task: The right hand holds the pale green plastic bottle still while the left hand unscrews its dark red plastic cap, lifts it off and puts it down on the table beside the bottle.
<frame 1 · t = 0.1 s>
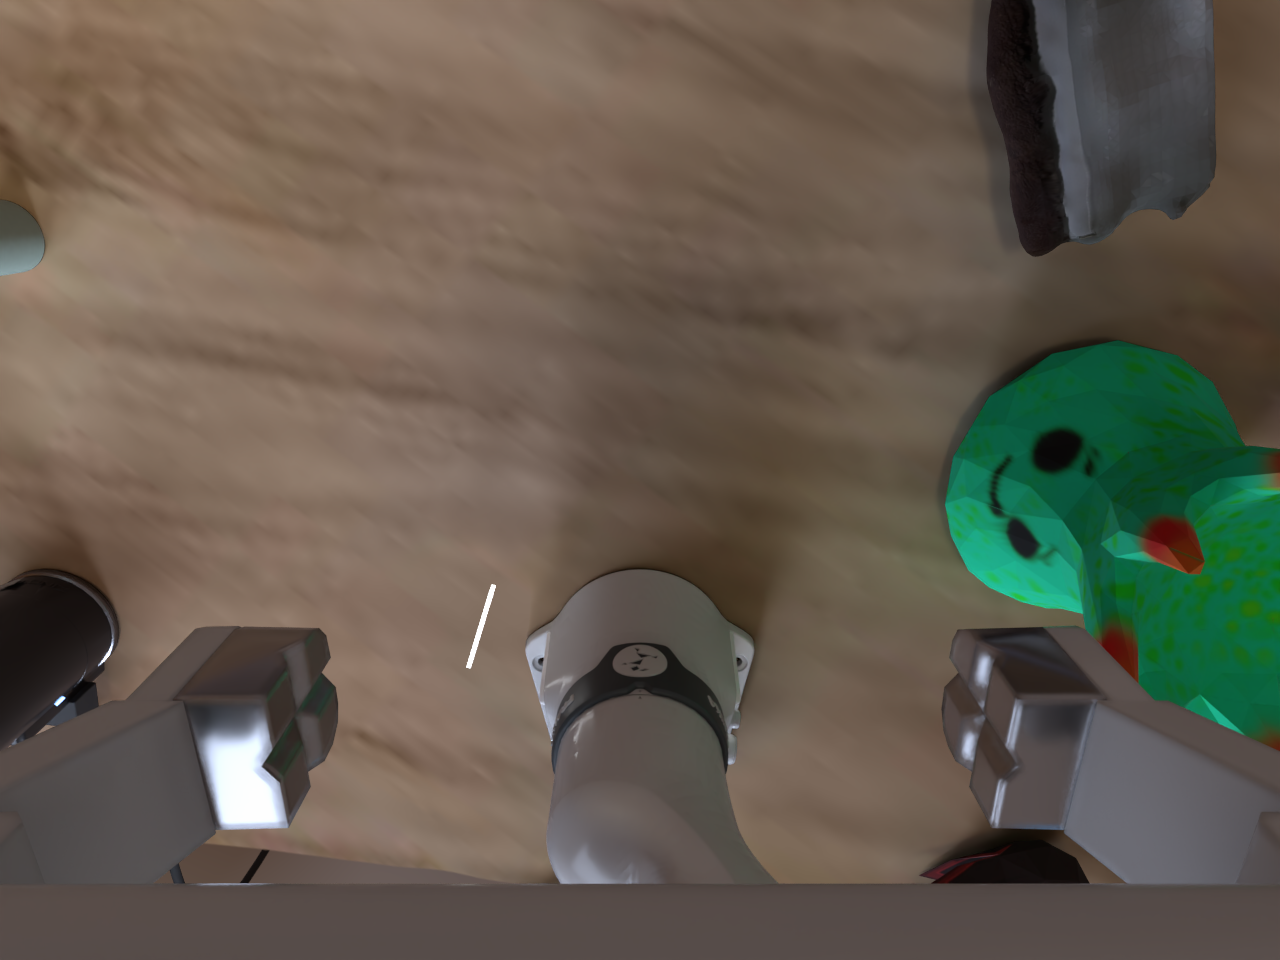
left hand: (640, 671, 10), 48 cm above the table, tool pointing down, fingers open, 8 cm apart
bottle: (8, 236, 54), on the table
toy: (980, 862, 75), on the table
rock: (1059, 98, 51), on the table
toy 2: (1072, 472, 61), on the table
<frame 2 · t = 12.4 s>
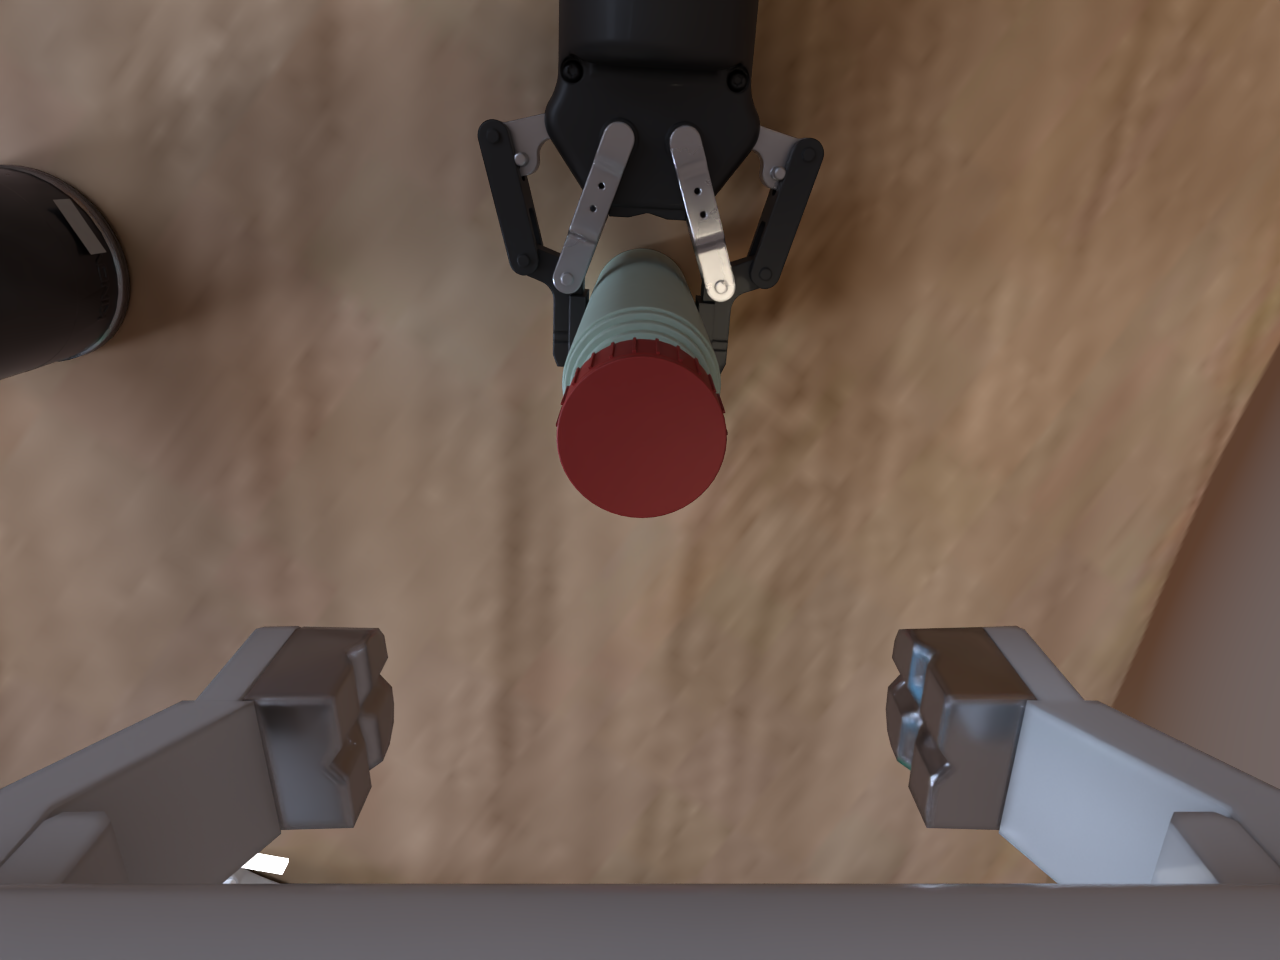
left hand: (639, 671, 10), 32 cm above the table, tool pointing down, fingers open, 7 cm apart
bottle: (641, 296, 41), on the table, touching right hand
cap: (641, 436, 19), point 23 cm above the table, screwed on, not yet turned
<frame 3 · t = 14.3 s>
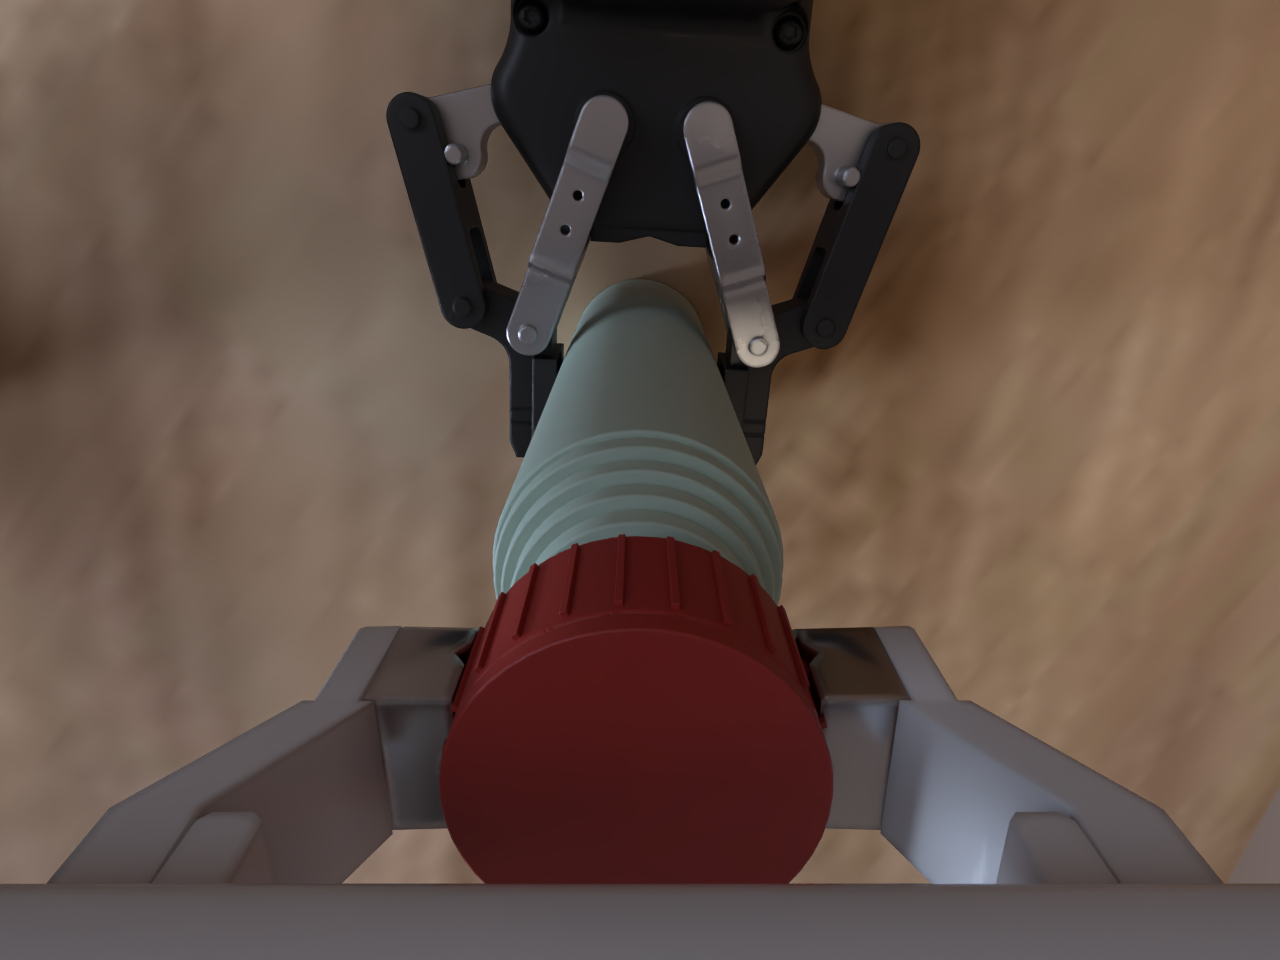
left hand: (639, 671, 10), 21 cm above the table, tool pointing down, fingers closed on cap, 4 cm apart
bottle: (639, 344, 30), on the table, touching right hand
cap: (636, 778, 9), point 23 cm above the table, screwed on, not yet turned, touching left hand
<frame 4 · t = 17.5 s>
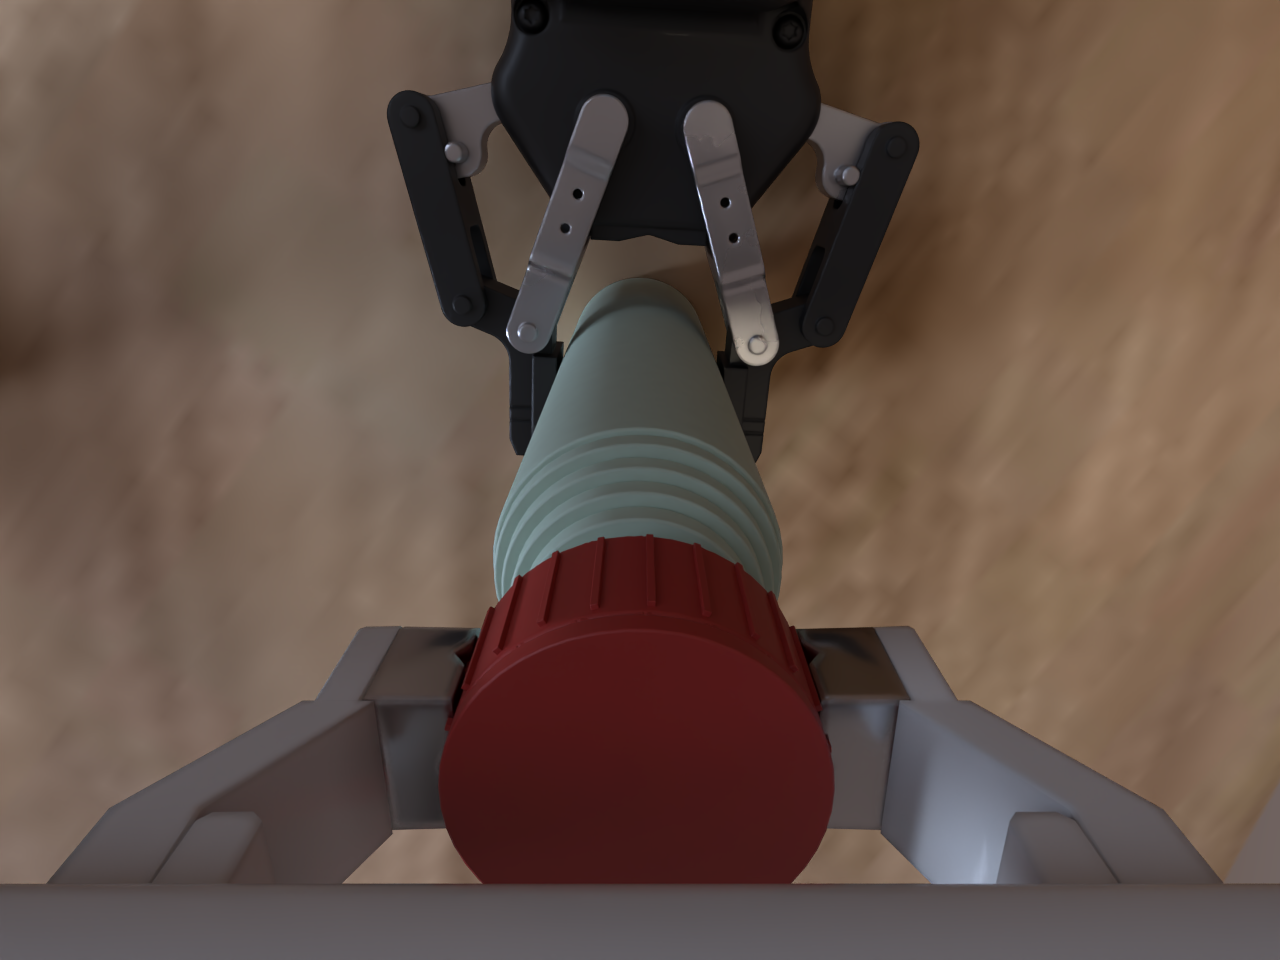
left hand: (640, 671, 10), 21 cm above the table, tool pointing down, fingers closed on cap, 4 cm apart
bottle: (639, 342, 30), on the table, touching right hand
cap: (636, 779, 9), point 23 cm above the table, turned 85° so far, risen 0.1 cm, still on its thread, touching left hand
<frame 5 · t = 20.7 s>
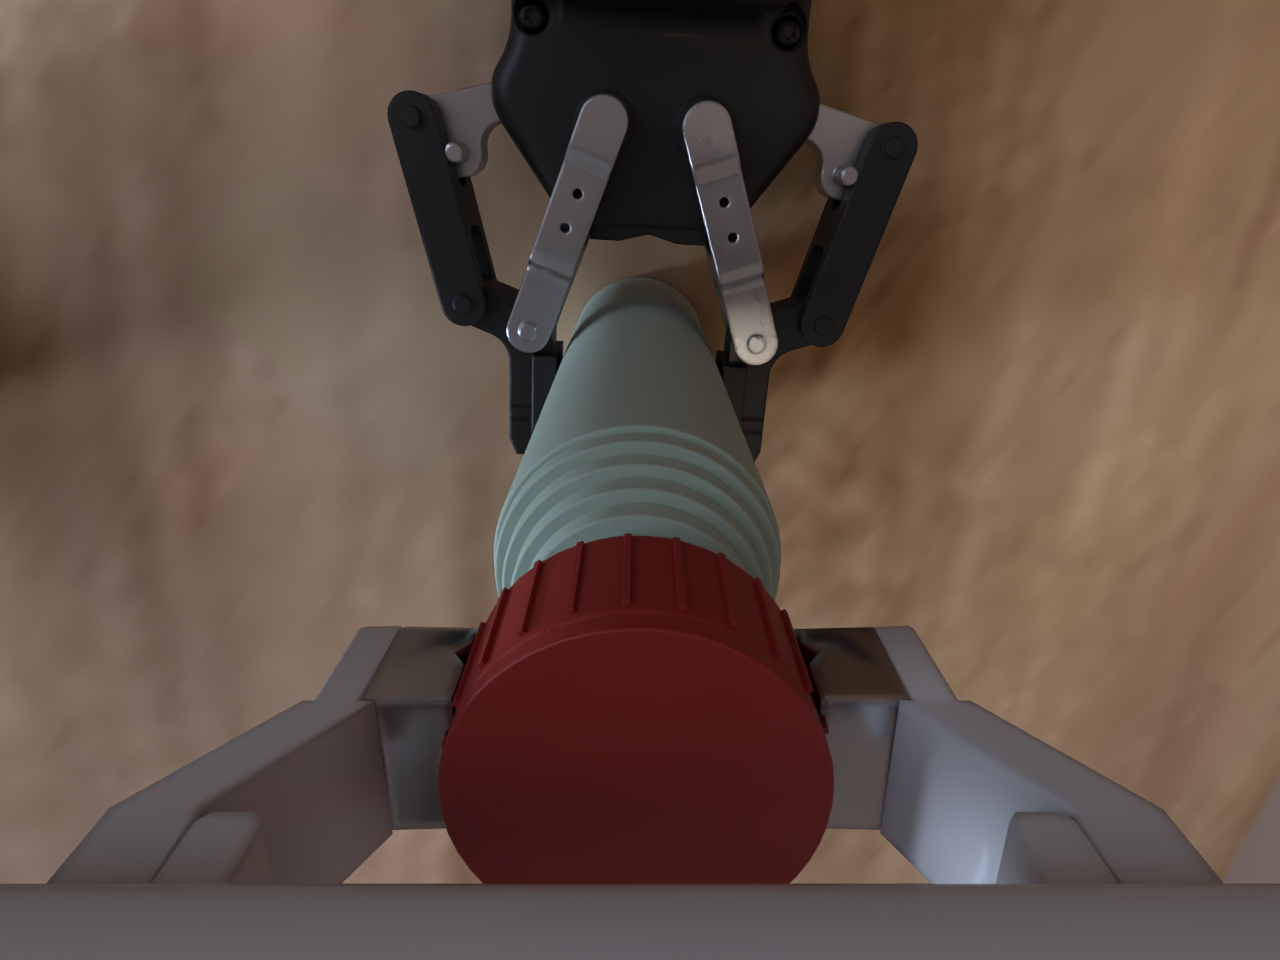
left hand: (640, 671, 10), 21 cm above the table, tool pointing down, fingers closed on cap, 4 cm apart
bottle: (638, 342, 30), on the table, touching right hand
cap: (636, 779, 9), point 23 cm above the table, turned 170° so far, risen 0.2 cm, still on its thread, touching left hand
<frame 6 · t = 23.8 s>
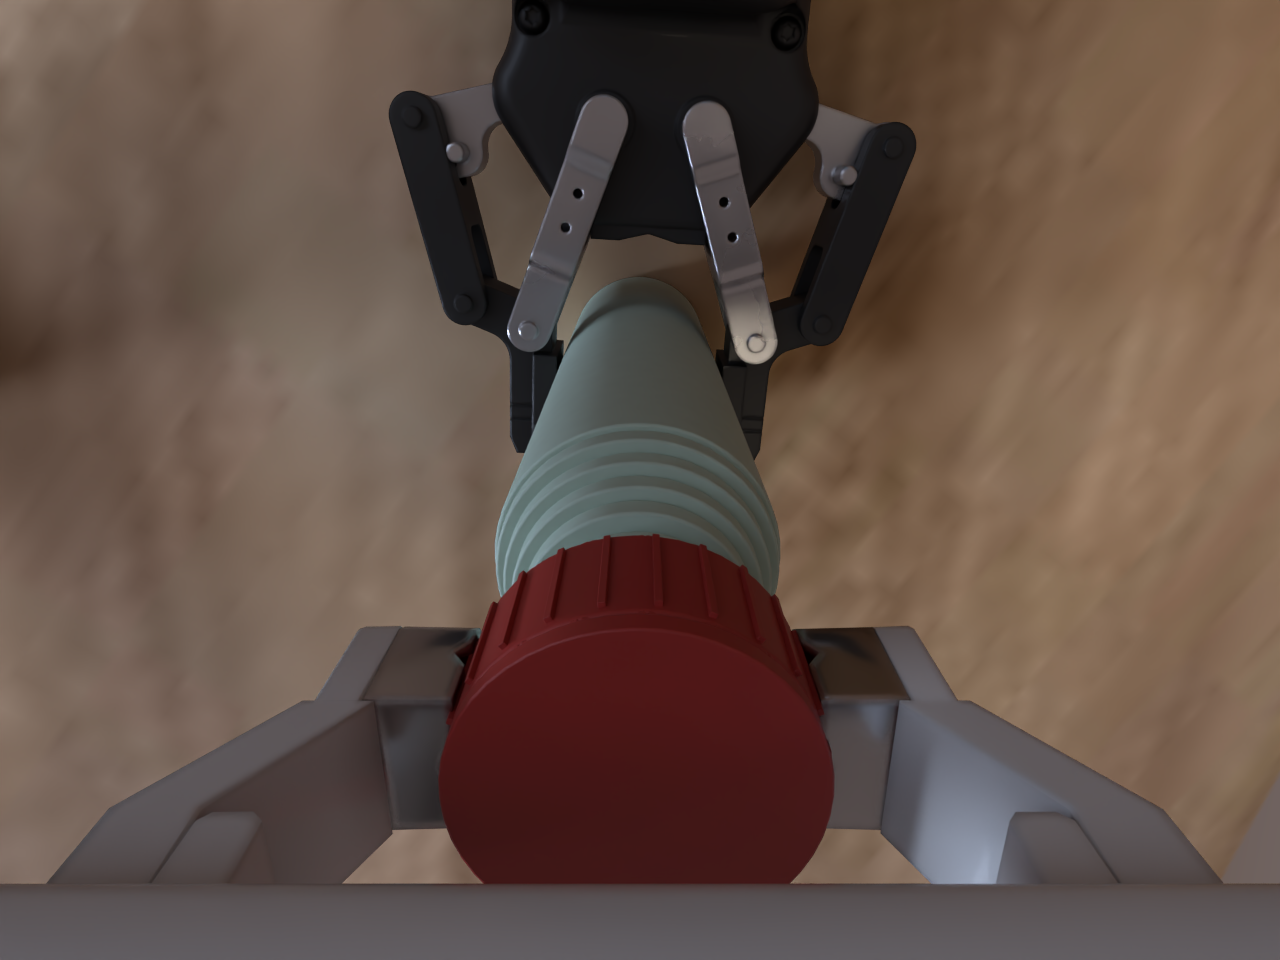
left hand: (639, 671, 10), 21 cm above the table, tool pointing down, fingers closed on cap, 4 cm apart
bottle: (638, 341, 30), on the table, touching right hand
cap: (636, 779, 9), point 23 cm above the table, turned 255° so far, risen 0.3 cm, still on its thread, touching left hand
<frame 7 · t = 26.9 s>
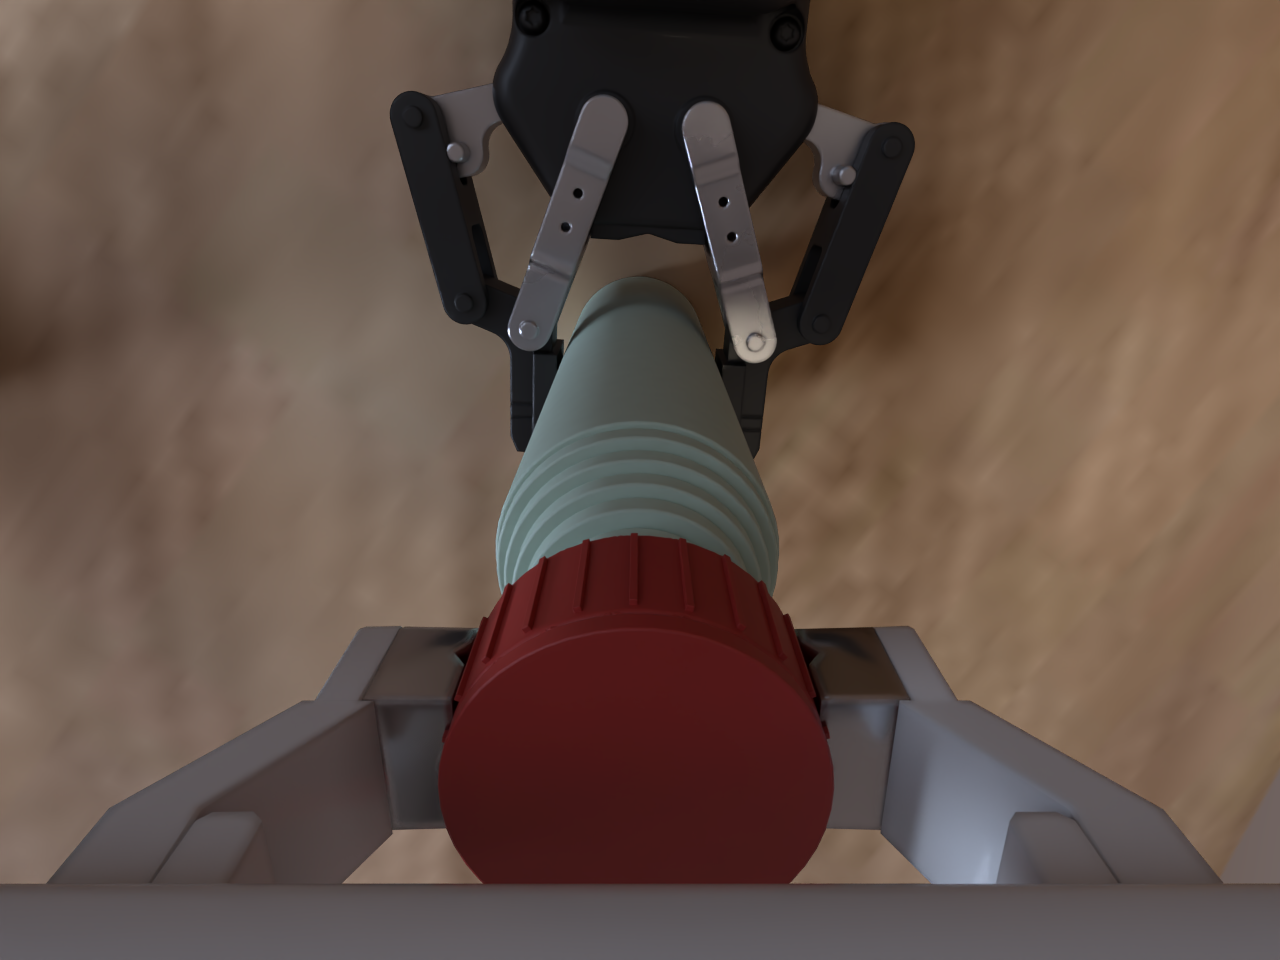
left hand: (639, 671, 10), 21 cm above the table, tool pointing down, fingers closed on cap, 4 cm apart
bottle: (638, 341, 30), on the table, touching right hand
cap: (636, 778, 9), point 23 cm above the table, turned 340° so far, risen 0.4 cm, still on its thread, touching left hand
when the left hand's fingers open (2 cm above the table, at t = 36.3 s): cap drops 2 cm, point 2 cm above the table.
when the right hand's fingers open (6 cm above the table, at t = 37.4 s): bottle stays where it is, on the table.
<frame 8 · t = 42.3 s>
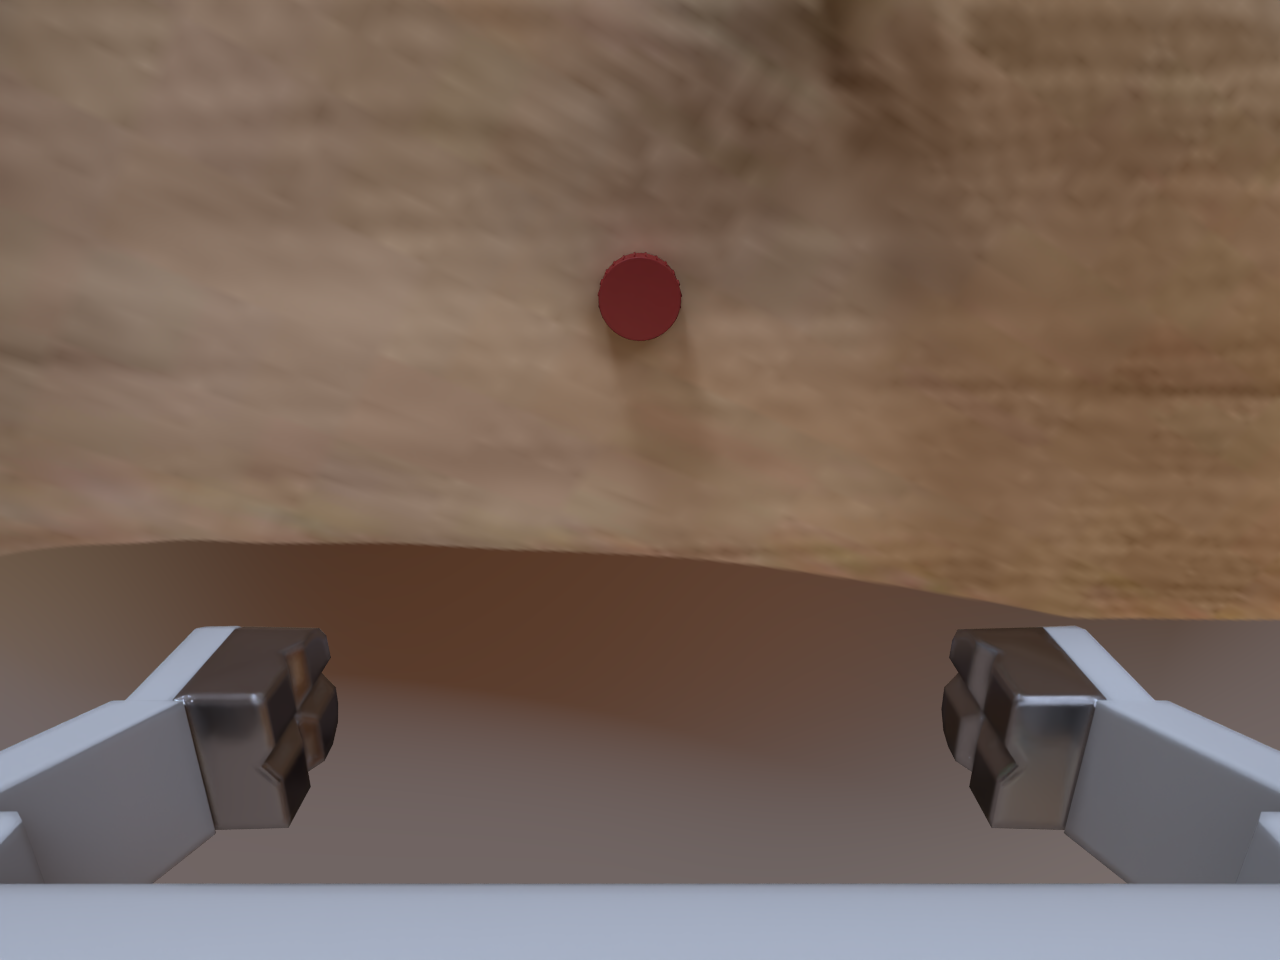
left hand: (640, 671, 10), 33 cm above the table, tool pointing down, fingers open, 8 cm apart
cap: (639, 298, 40), point 2 cm above the table, off its thread
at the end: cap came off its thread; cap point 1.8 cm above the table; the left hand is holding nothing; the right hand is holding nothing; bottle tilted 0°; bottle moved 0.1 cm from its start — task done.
